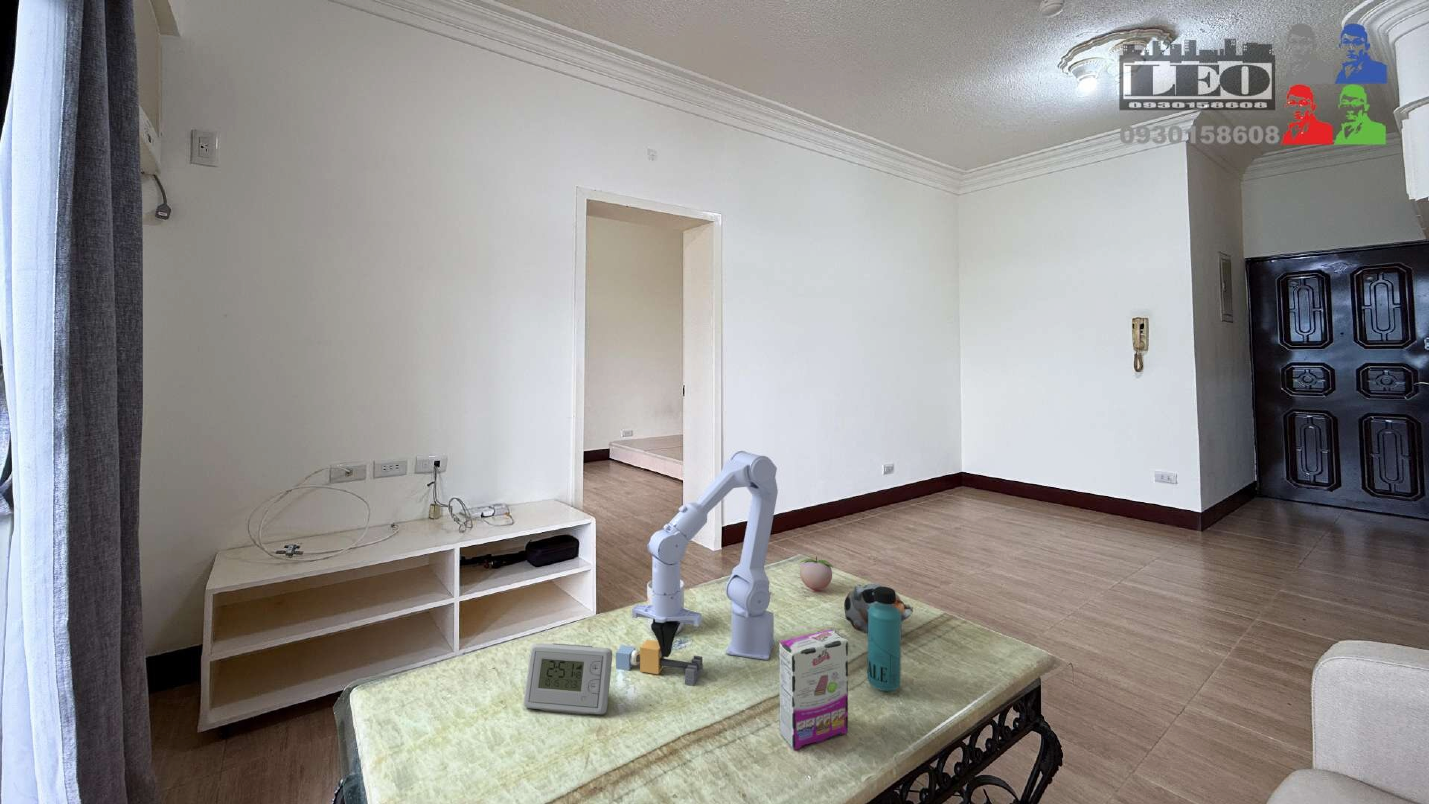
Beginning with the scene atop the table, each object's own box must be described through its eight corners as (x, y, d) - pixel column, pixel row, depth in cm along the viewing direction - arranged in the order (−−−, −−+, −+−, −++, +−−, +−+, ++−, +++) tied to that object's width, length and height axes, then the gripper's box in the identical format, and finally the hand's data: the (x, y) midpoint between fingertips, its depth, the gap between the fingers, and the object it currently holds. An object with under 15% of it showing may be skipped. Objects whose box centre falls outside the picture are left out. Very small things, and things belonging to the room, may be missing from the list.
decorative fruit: (799, 596, 149) (799, 560, 149) (799, 584, 157) (799, 551, 157) (833, 598, 148) (834, 562, 147) (832, 587, 156) (832, 553, 155)
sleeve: (664, 665, 113) (664, 642, 112) (658, 674, 109) (658, 650, 109) (646, 662, 114) (646, 639, 114) (640, 671, 110) (640, 647, 110)
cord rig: (702, 669, 112) (702, 653, 112) (693, 685, 106) (693, 669, 106) (625, 656, 117) (625, 641, 117) (612, 672, 111) (612, 656, 110)
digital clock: (518, 709, 98) (517, 653, 98) (548, 683, 107) (547, 631, 106) (594, 729, 93) (594, 669, 92) (620, 699, 101) (620, 644, 101)
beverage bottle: (900, 683, 107) (902, 584, 106) (901, 702, 101) (903, 597, 100) (867, 677, 109) (868, 580, 108) (865, 695, 103) (866, 593, 102)
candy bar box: (831, 717, 96) (832, 627, 95) (848, 734, 92) (850, 640, 91) (777, 733, 92) (777, 639, 91) (792, 752, 87) (793, 653, 86)
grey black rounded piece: (905, 617, 136) (921, 580, 129) (896, 655, 126) (914, 618, 119) (847, 592, 141) (860, 555, 134) (835, 627, 131) (848, 589, 124)
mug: (689, 633, 127) (689, 587, 127) (653, 640, 124) (653, 593, 123) (672, 613, 138) (672, 570, 138) (639, 619, 135) (639, 575, 134)
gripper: (625, 593, 108) (625, 659, 109) (693, 601, 104) (693, 670, 105) (639, 580, 115) (640, 642, 115) (704, 588, 111) (704, 652, 111)
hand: (666, 654), depth 111 cm, fingers closed
